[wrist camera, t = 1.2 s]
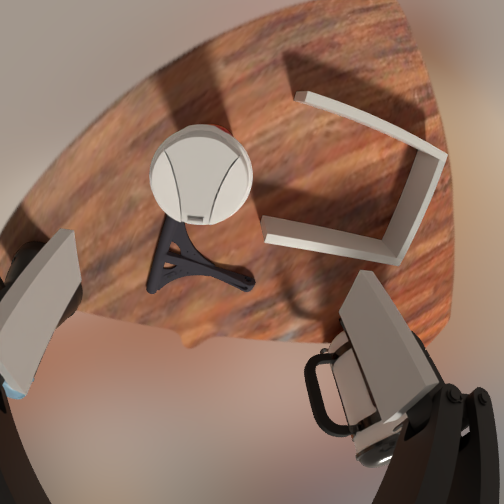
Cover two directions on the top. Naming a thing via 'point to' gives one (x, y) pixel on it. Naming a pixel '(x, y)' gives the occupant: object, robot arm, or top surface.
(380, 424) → the coffee press
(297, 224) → the box
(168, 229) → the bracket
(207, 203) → the paper cup
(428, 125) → the top surface
